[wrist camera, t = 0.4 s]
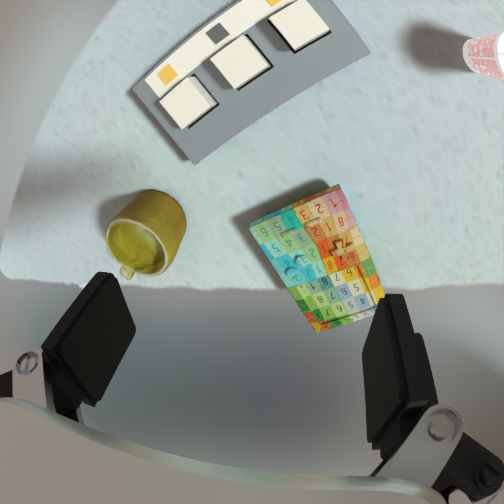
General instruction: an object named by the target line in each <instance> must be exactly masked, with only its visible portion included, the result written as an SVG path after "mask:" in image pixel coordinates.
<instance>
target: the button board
mask: <svg viewBox="0 0 504 504" xmlns="http://www.w3.org/2000/svg"><path fill="white" fill-rule="evenodd" d="M297 1H298V0H238V1H236V2H235V3H233V4H232V5H230V6H229V7H228V8H226V9H225V10H223V11H222V12H221V13H219V14H218V15H216V16H215V17H214V18H212V19H211V20H210V21H208V22H207V23H206V24H204V25H203V26H202V27H201V28H199V29H198V30H197V31H196V32H194V33H193V34H192V35H191V36H189V37H188V38H187V39H186V40H184V41H183V42H182V43H181V44H180V45H179V46H177V47H176V48H175V49H174V50H173V51H172V52H170V53H169V54H168V55H167V56H166V57H165V58H164V59H163V60H162V61H160V62H159V63H158V64H157V65H156V66H155V67H154V68H153V69H152V70H151V71H150V72H149V73H148V74H147V75H146V76H145V77H144V78H143V79H142V80H141V81H140V82H139V83H138V84H137V85H136V86H135V87H134V88H133V89H132V90H133V91H134V92H135V93H136V95H137V96H138V97H139V98H140V99H141V101H142V102H143V103H144V104H145V106H146V107H147V108H148V109H149V110H150V112H151V113H152V114H153V115H154V117H155V118H156V119H157V120H158V121H159V123H160V124H161V125H162V126H163V128H164V129H165V130H166V131H167V132H168V134H169V135H170V136H171V137H172V139H173V140H174V141H175V142H176V144H177V145H178V146H179V147H180V148H181V150H182V151H183V152H184V153H185V155H186V156H187V157H188V158H189V160H190V161H191V162H192V163H193V164H194V165H196V164H197V163H198V162H200V161H201V160H202V159H204V158H205V157H206V156H208V155H209V154H210V153H212V152H213V151H214V150H216V149H217V148H218V147H220V146H221V145H223V144H224V143H225V142H227V141H228V140H229V139H231V138H232V137H234V136H235V135H237V134H238V133H239V132H241V131H242V130H244V129H245V128H247V127H248V126H250V125H251V124H253V123H254V122H256V121H257V120H258V119H260V118H261V117H263V116H265V115H266V114H268V113H269V112H271V111H272V110H274V109H275V108H277V107H278V106H280V105H281V104H283V103H285V102H286V101H288V100H289V99H291V98H293V97H294V96H296V95H297V94H299V93H301V92H302V91H304V90H306V89H307V88H309V87H311V86H312V85H314V84H316V83H318V82H319V81H321V80H323V79H324V78H326V77H328V76H330V75H331V74H333V73H335V72H337V71H339V70H340V69H342V68H344V67H346V66H348V65H350V64H351V63H353V62H355V61H357V60H359V59H361V58H363V57H365V56H367V55H369V54H371V52H370V51H369V49H368V48H367V46H366V45H365V43H364V42H363V40H362V39H361V38H360V36H359V35H358V33H357V32H356V31H355V29H354V28H353V27H352V25H351V24H350V23H349V21H348V20H347V19H346V17H345V16H344V15H343V13H342V12H341V11H340V10H339V8H338V7H337V6H336V5H335V3H334V2H333V1H332V0H306V1H307V2H308V3H309V4H310V5H311V7H312V8H313V9H314V10H315V11H316V13H317V14H318V15H319V16H320V18H321V19H322V20H323V21H324V23H325V24H326V25H327V26H328V28H329V31H328V33H326V34H325V35H323V36H321V37H319V38H317V39H316V40H314V41H312V42H310V43H309V44H307V45H305V46H303V47H302V48H300V49H298V50H297V51H295V50H294V49H293V48H292V47H291V45H290V44H289V43H288V42H287V40H286V39H285V38H284V37H283V35H282V34H281V33H280V32H279V30H278V29H277V28H276V27H275V26H274V25H273V23H272V22H271V21H270V19H269V18H270V17H271V16H273V15H274V14H276V13H278V12H279V11H281V10H283V9H284V8H286V7H288V6H290V5H291V4H293V3H295V2H297ZM242 35H244V36H246V37H247V38H249V39H250V41H251V42H252V43H253V44H254V45H255V47H256V48H257V49H258V50H259V51H260V53H261V54H262V55H263V56H264V58H265V59H266V60H267V61H268V63H269V64H270V65H271V67H269V68H268V69H266V70H265V71H263V72H262V73H260V74H259V75H257V76H256V77H254V78H253V79H251V80H250V81H249V82H247V83H246V84H244V85H243V86H241V87H239V88H236V89H234V88H233V87H232V85H231V84H230V83H229V82H228V80H227V79H226V78H225V77H224V75H223V74H222V73H221V72H220V71H219V69H218V68H217V67H216V66H215V64H214V63H213V62H212V61H211V60H210V58H212V57H213V56H214V55H216V54H217V53H218V52H220V51H221V50H222V49H224V48H225V47H226V46H228V45H229V44H231V43H232V42H233V41H235V40H236V39H238V38H239V37H241V36H242ZM195 76H197V77H198V78H199V80H200V81H201V82H202V83H203V84H204V86H205V87H206V88H207V89H208V91H209V92H210V93H211V94H212V96H213V97H214V98H215V99H216V100H217V102H218V104H217V105H215V106H214V107H213V108H211V109H210V110H209V111H208V112H206V113H205V114H204V115H202V116H201V117H200V118H199V119H197V120H196V121H195V122H194V123H192V124H191V125H189V126H187V127H186V128H184V129H181V128H180V127H179V125H178V124H177V123H176V122H175V120H174V119H173V118H172V117H171V115H170V114H169V113H168V112H167V111H166V109H165V108H164V107H163V106H162V104H161V103H160V101H161V100H162V99H163V98H164V97H165V96H166V95H167V94H168V93H169V92H171V91H172V90H173V89H174V88H175V87H176V86H177V85H179V84H180V83H181V82H182V81H183V80H184V79H186V78H187V77H195Z"/></svg>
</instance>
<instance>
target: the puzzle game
mask: <svg viewBox="0 0 504 504" xmlns="http://www.w3.org/2000/svg"><path fill="white" fill-rule="evenodd" d="M248 228H249V229H250V231H251V233H252V235H253V236H254V238H255V239H256V241H257V242H258V244H259V245H260V247H261V248H262V250H263V251H264V253H265V255H266V256H267V258H268V259H269V261H270V262H271V264H272V265H273V267H274V268H275V270H276V271H277V273H278V275H279V276H280V278H281V279H282V281H283V282H284V284H285V285H286V287H287V288H288V290H289V292H290V293H291V295H292V296H293V298H294V299H295V301H296V302H297V304H298V306H299V307H300V308H301V310H302V312H303V313H304V315H305V316H306V318H307V319H308V321H309V322H310V324H311V326H312V327H313V329H314V330H315V332H316V333H317V332H320V331H324V330H327V329H331V328H334V327H337V326H341V325H344V324H347V323H350V322H353V321H357V320H360V319H363V318H366V317H369V316H372V315H374V314H375V311H376V308H377V304H378V301H379V299H380V298H384V296H385V293H384V290H383V287H382V285H381V282H380V279H379V277H378V274H377V272H376V269H375V266H374V264H373V261H372V259H371V256H370V254H369V251H368V249H367V246H366V244H365V241H364V239H363V237H362V234H361V232H360V230H359V227H358V225H357V223H356V220H355V218H354V216H353V214H352V211H351V209H350V207H349V205H348V202H347V200H346V198H345V196H344V194H343V192H342V190H341V187H340V185H339V184H337V185H335V186H332V187H330V188H328V189H325V190H323V191H321V192H318V193H316V194H314V195H311V196H309V197H307V198H305V199H302V200H300V201H298V202H295V203H293V204H291V205H289V206H286V207H284V208H282V209H280V210H277V211H275V212H273V213H271V214H268V215H266V216H264V217H262V218H259V219H257V220H255V221H253V222H251V223H250V225H249V227H248Z"/></svg>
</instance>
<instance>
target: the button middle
mask: <svg viewBox="0 0 504 504" xmlns="http://www.w3.org/2000/svg"><path fill="white" fill-rule="evenodd" d="M210 60H211V61H212V62H213V63H214V64H215V66H216V67H217V68H218V69H219V71H220V72H221V73H222V74H223V75H224V77H225V78H226V79H227V80H228V82H229V83H230V84H231V85H232V87H233V88H234V89H236V88H239V87H241V86H243V85H244V84H246V83H247V82H249V81H250V80H251V79H253V78H254V77H256V76H257V75H259V74H260V73H262V72H263V71H265V70H266V69H268V68H269V67H271V65H270V64H269V63H268V61H267V60H266V59H265V58H264V56H263V55H262V54H261V53H260V51H259V50H258V49H257V48H256V47H255V45H254V44H253V43H252V42H251V41H250V39H249V38H247V37H246V36H244V35H242V36H241V37H239V38H238V39H236V40H235V41H233V42H232V43H231V44H229V45H228V46H226V47H225V48H224V49H222V50H221V51H220V52H218V53H217V54H216V55H214V56H213V57H212V58H210Z"/></svg>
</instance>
